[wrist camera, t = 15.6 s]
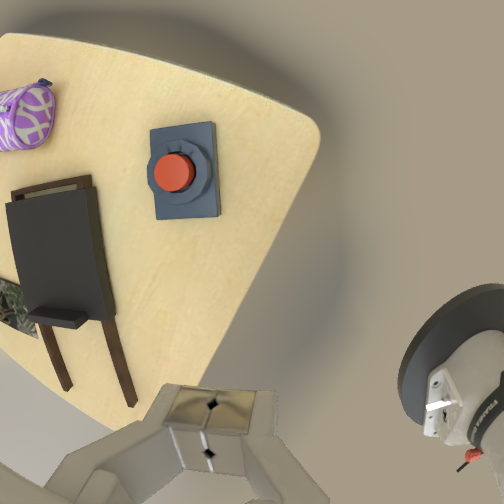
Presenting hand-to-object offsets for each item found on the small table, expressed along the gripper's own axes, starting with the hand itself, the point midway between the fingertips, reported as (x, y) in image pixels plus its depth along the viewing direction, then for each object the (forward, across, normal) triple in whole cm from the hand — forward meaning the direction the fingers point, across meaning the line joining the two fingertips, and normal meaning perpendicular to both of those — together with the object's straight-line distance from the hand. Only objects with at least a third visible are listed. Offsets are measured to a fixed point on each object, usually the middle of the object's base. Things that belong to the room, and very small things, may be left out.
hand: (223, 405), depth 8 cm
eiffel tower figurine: (+27, +48, +12) cm, 56 cm away
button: (+24, +9, -6) cm, 26 cm away
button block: (+27, +9, -6) cm, 29 cm away
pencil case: (+27, +38, -18) cm, 50 cm away
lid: (+27, +30, +3) cm, 40 cm away
